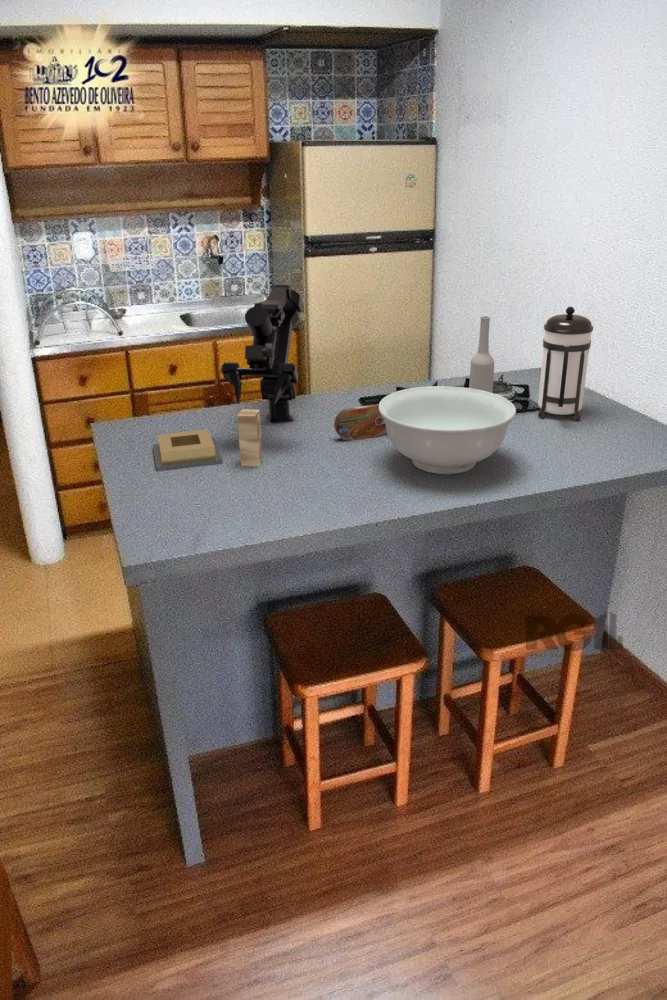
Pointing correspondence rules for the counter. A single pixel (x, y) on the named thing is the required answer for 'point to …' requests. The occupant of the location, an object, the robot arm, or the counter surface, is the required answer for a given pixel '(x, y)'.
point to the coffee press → (564, 364)
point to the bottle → (482, 361)
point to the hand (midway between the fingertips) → (255, 403)
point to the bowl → (446, 425)
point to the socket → (186, 450)
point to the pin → (250, 437)
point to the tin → (360, 423)
